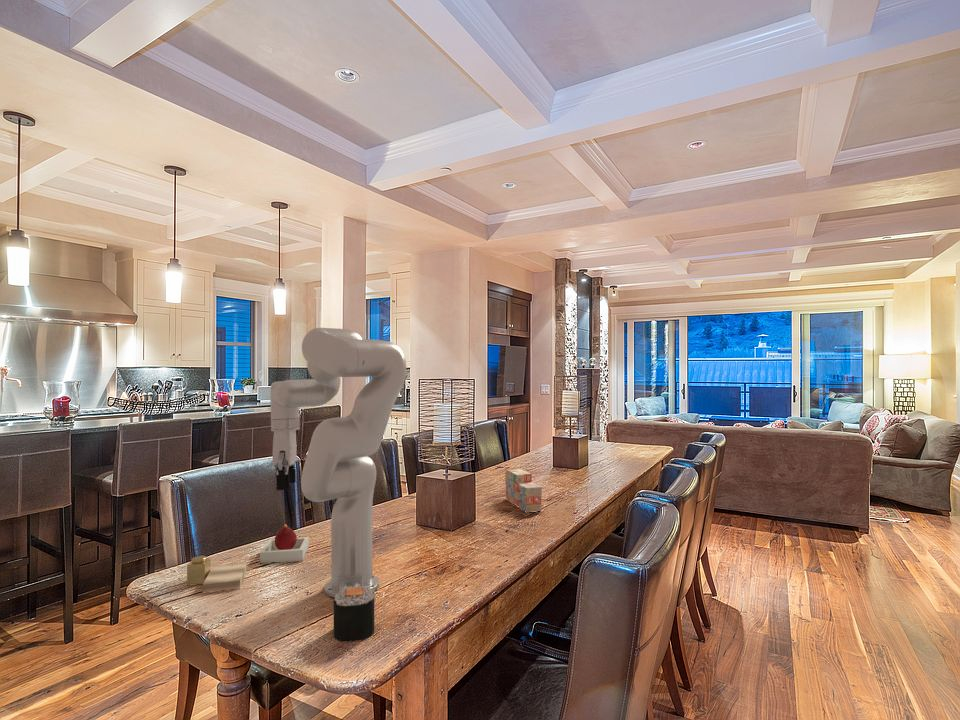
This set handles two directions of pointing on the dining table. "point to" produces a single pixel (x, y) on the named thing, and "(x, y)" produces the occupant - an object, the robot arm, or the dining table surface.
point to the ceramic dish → (284, 552)
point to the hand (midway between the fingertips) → (286, 486)
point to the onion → (285, 538)
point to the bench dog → (198, 570)
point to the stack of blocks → (523, 490)
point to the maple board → (225, 577)
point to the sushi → (354, 613)
